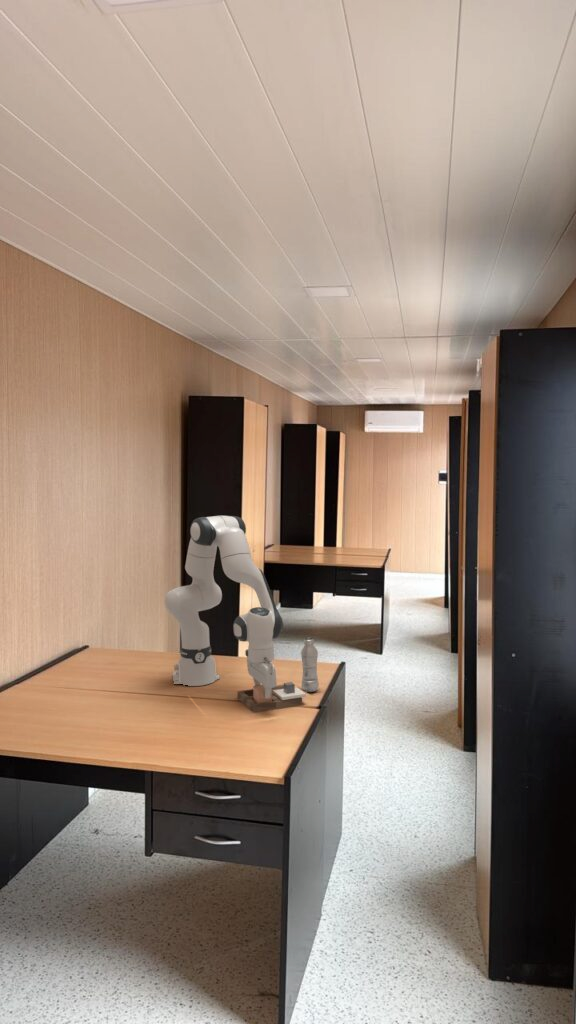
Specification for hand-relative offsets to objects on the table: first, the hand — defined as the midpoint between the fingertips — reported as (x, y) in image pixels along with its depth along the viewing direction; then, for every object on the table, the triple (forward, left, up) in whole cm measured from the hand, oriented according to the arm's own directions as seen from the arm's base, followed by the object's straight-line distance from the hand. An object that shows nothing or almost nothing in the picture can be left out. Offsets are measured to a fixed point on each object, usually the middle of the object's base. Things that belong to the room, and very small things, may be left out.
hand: (262, 693), depth 261 cm
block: (0, 0, -5) cm, 5 cm away
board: (-4, +4, -6) cm, 8 cm away
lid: (0, +10, -2) cm, 10 cm away
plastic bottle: (-11, +23, -6) cm, 26 cm away
